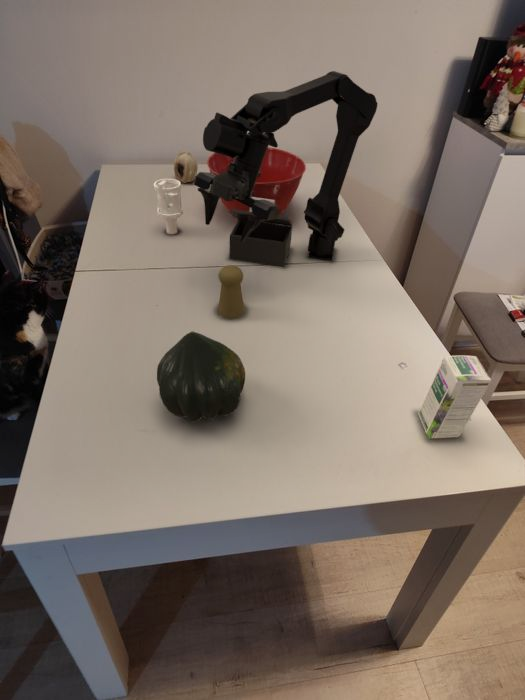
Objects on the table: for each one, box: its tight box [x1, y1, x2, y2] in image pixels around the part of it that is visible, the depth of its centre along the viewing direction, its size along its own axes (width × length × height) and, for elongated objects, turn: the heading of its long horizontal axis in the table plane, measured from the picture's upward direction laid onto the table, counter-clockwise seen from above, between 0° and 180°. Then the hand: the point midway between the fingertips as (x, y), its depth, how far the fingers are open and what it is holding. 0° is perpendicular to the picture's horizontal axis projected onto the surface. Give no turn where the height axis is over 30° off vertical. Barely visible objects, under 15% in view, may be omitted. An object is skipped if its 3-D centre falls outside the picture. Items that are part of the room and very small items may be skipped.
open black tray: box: [229, 219, 293, 268], centre depth 118 cm, size 10×15×7 cm, turn 78°
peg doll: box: [217, 264, 245, 320], centre depth 97 cm, size 6×6×11 cm
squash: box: [156, 330, 246, 423], centre depth 77 cm, size 14×15×15 cm
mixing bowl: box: [206, 146, 307, 220], centre depth 133 cm, size 28×28×16 cm
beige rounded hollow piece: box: [173, 150, 199, 184], centre depth 152 cm, size 9×8×10 cm
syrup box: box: [417, 354, 492, 439], centre depth 74 cm, size 6×6×14 cm
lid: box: [229, 197, 293, 227], centre depth 113 cm, size 10×15×5 cm
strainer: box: [153, 178, 184, 235], centre depth 122 cm, size 7×7×15 cm
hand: (224, 233), depth 99 cm, fingers open, 9 cm apart
